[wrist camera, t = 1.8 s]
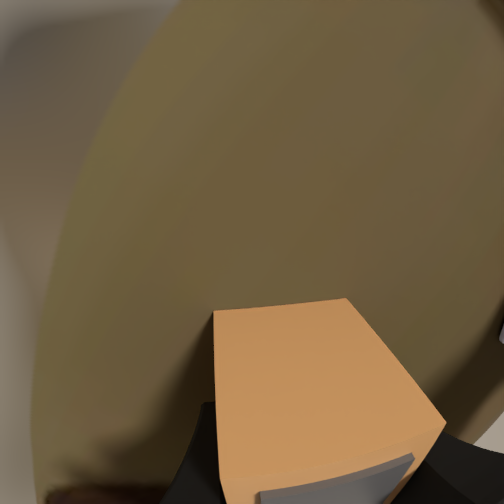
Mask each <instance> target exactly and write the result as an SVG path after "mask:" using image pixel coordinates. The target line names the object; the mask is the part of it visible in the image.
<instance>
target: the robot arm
mask: <svg viewBox="0 0 504 504" xmlns="http://www.w3.org/2000/svg"><path fill="white" fill-rule="evenodd" d="M499 340H500V341H501V342H502V343H503V344H504V325H503V328H502V331H501V334H500V337H499ZM159 504H227V503H226V499H225V496H224V492H223V488H222V485H221V481H220V472H219V457H218V440H217V420H216V402H204V403H203V404H202V405H201V410H200V415H199V419H198V422H197V426H196V429H195V432H194V435H193V437H192V440H191V442H190V445H189V447H188V450H187V453H186V455H185V457H184V459H183V461H182V463H181V465H180V467H179V470H178V472H177V474H176V476H175V478H174V479H173V481H172V483H171V485H170V487H169V488H168V490H167V492H166V493H165V495H164V496H163V498H162V500H161V501H160V503H159ZM390 504H504V454H503V453H498V452H494V451H490V450H487V449H483V448H480V447H477V446H474V445H472V444H469V443H466V442H464V441H461V440H459V439H457V438H455V437H453V436H451V435H449V434H447V433H445V432H443V431H441V433H440V435H439V436H438V438H437V440H436V441H435V443H434V444H433V446H432V447H431V449H430V451H429V452H428V454H427V455H426V457H425V458H424V460H423V461H422V462H421V464H420V465H419V467H418V468H417V470H416V471H415V472H414V474H413V475H412V476H411V478H410V479H409V480H408V482H407V483H406V484H405V486H404V487H403V488H402V489H401V491H400V492H399V493H398V494H397V496H396V497H395V498H394V499H393V500H392V502H391V503H390Z"/></svg>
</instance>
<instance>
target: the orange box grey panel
mask: <svg viewBox="0 0 504 504" xmlns="http://www.w3.org/2000/svg"><path fill="white" fill-rule="evenodd" d="M213 313H214V366H215V396H216V420H217V440H218V457H219V472H220V481H221V485H222V488H223V492H224V496H225V499H226V503H227V504H390V503H391V502H392V500H393V499H394V498H395V497H396V496H397V494H398V493H399V492H400V491H401V489H402V488H403V487H404V486H405V484H406V483H407V482H408V480H409V479H410V478H411V476H412V475H413V474H414V472H415V471H416V470H417V468H418V467H419V465H420V464H421V462H422V461H423V460H424V458H425V457H426V455H427V454H428V452H429V451H430V449H431V447H432V446H433V444H434V443H435V441H436V440H437V438H438V436H439V435H440V433H441V431H442V430H443V428H444V426H445V425H446V421H445V420H444V419H443V417H442V416H441V415H440V413H439V412H438V411H437V409H436V408H435V407H434V405H433V404H432V403H431V402H430V400H429V399H428V398H427V396H426V395H425V394H424V393H423V391H422V390H421V389H420V387H419V386H418V385H417V384H416V382H415V381H414V380H413V379H412V377H411V376H410V375H409V374H408V372H407V371H406V370H405V369H404V367H403V366H402V365H401V364H400V362H399V361H398V360H397V359H396V357H395V356H394V355H393V354H392V352H391V351H390V350H389V349H388V348H387V346H386V345H385V344H384V343H383V341H382V340H381V339H380V338H379V337H378V335H377V334H376V333H375V332H374V331H373V329H372V328H371V327H370V326H369V325H368V323H367V322H366V321H365V320H364V319H363V317H362V316H361V315H360V314H359V313H358V312H357V310H356V309H355V308H354V307H353V306H352V304H351V303H350V302H349V301H348V300H347V299H346V298H343V299H335V300H326V301H318V302H309V303H300V304H290V305H280V306H269V307H258V308H246V309H233V310H219V311H213Z"/></svg>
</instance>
